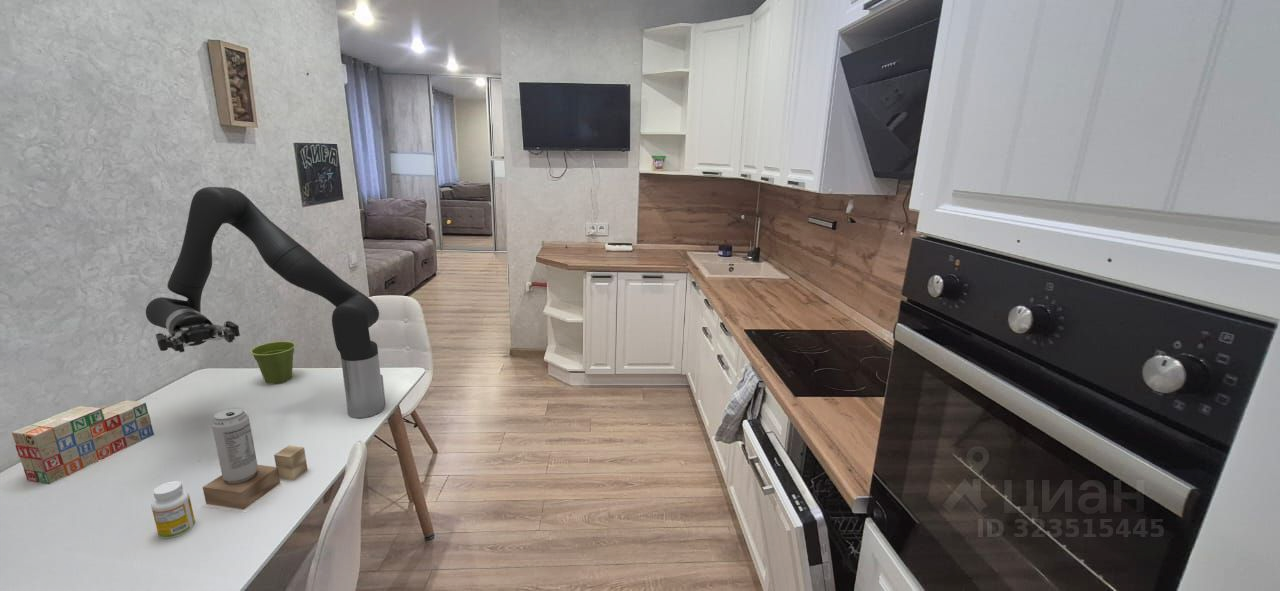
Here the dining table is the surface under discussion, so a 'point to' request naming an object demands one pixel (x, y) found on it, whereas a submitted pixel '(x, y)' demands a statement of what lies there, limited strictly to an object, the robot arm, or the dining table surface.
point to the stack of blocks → (79, 439)
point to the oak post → (291, 462)
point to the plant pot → (275, 360)
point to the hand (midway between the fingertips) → (206, 342)
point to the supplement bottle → (172, 510)
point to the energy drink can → (234, 445)
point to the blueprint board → (249, 505)
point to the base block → (241, 489)
